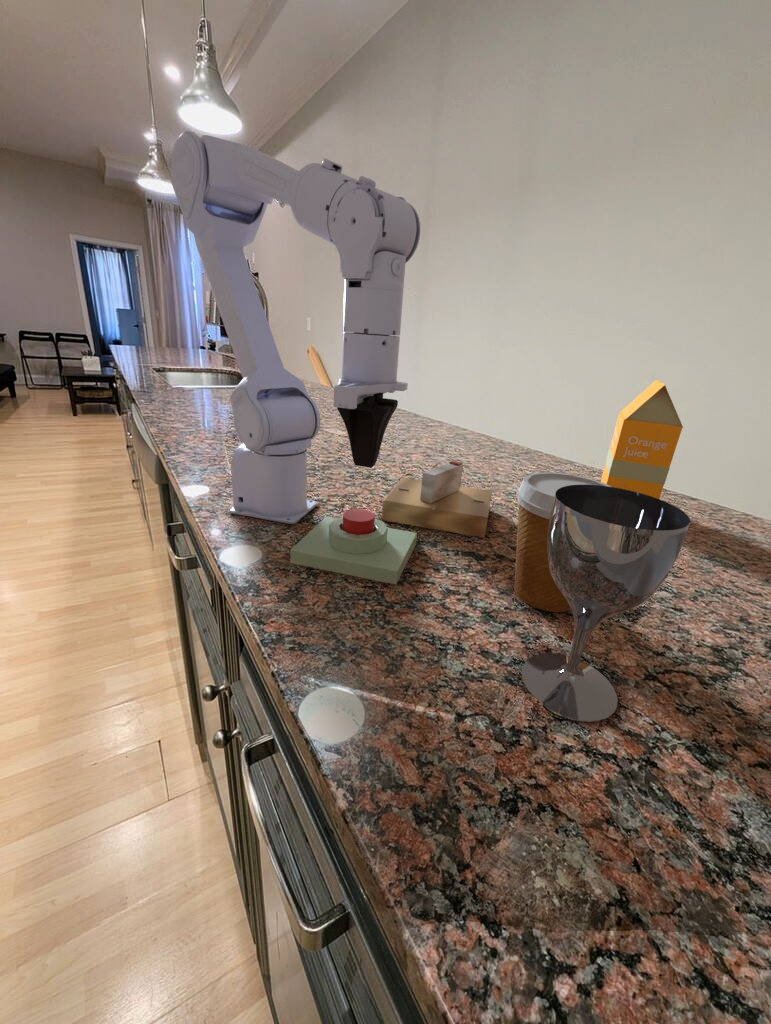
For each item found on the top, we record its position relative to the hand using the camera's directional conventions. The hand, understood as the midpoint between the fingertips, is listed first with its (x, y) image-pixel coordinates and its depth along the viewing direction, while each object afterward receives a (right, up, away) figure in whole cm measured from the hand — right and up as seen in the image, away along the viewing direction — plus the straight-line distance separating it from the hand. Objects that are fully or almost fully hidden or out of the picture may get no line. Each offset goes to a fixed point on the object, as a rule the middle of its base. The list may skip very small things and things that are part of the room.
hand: (364, 465), depth 50 cm
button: (-1, -7, +1) cm, 7 cm away
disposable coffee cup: (+19, -14, -3) cm, 24 cm away
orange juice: (+41, -5, +23) cm, 48 cm away
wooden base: (+10, -6, +15) cm, 19 cm away
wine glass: (+16, -19, -15) cm, 29 cm away
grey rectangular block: (+10, -3, +14) cm, 17 cm away
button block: (-1, -10, +2) cm, 10 cm away
